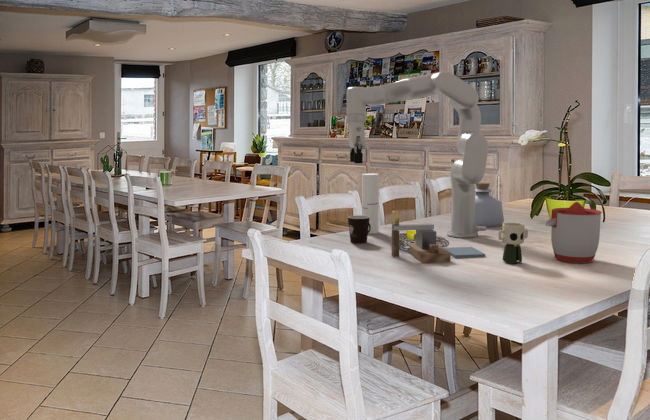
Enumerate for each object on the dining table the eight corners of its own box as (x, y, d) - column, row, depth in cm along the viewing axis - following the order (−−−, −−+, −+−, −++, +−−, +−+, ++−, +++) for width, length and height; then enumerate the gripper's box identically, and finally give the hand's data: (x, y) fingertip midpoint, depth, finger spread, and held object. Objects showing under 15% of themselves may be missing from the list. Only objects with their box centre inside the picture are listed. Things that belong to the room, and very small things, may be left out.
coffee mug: (346, 240, 246) (346, 215, 245) (367, 239, 247) (367, 215, 246) (350, 246, 235) (350, 220, 234) (372, 245, 236) (372, 219, 234)
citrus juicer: (539, 254, 217) (541, 198, 214) (590, 255, 215) (593, 198, 212) (550, 265, 201) (553, 204, 199) (605, 265, 200) (609, 204, 197)
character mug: (503, 266, 201) (504, 226, 199) (492, 261, 207) (493, 223, 206) (532, 263, 204) (534, 224, 202) (520, 259, 210) (521, 221, 209)
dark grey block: (429, 244, 222) (429, 227, 221) (436, 248, 214) (436, 231, 213) (415, 244, 221) (415, 228, 220) (422, 249, 213) (422, 232, 212)
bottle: (503, 221, 291) (504, 181, 288) (505, 228, 272) (506, 185, 269) (459, 220, 295) (460, 180, 293) (458, 226, 276) (459, 184, 274)
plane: (429, 247, 230) (429, 223, 229) (450, 262, 207) (451, 235, 206) (384, 249, 228) (384, 225, 227) (401, 263, 205) (401, 237, 203)
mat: (471, 249, 227) (471, 246, 227) (485, 256, 214) (485, 254, 214) (442, 250, 225) (442, 247, 225) (454, 258, 213) (455, 255, 213)
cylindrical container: (377, 234, 260) (377, 174, 256) (360, 233, 261) (360, 174, 258) (379, 231, 267) (379, 173, 263) (363, 230, 268) (363, 173, 264)
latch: (431, 228, 218) (432, 209, 217) (434, 229, 216) (434, 210, 215) (391, 229, 216) (391, 210, 215) (392, 230, 214) (392, 211, 213)
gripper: (369, 118, 233) (369, 163, 236) (361, 119, 250) (361, 161, 253) (350, 118, 232) (350, 164, 235) (343, 119, 249) (343, 161, 252)
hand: (356, 162), depth 244 cm, fingers open, 9 cm apart
